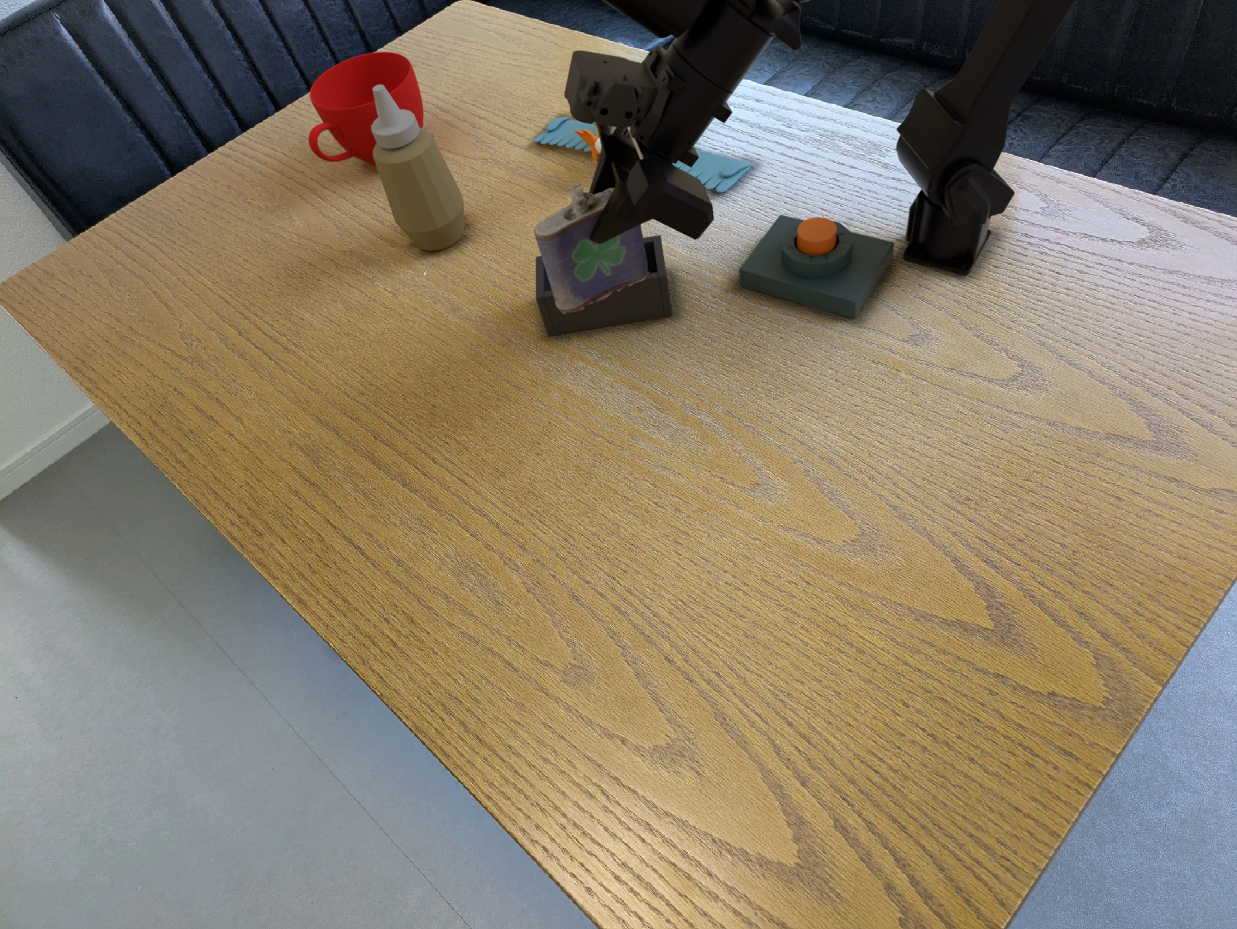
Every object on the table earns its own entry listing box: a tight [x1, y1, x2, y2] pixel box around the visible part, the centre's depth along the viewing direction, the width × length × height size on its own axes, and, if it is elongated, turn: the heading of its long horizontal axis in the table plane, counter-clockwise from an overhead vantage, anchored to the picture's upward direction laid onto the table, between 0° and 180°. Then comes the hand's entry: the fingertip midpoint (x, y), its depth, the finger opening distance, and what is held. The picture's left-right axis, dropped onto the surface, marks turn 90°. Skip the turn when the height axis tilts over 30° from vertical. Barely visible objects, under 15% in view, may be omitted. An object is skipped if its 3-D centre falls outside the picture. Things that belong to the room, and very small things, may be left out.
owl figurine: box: [532, 116, 754, 193], centre depth 94 cm, size 28×9×15 cm
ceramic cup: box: [307, 51, 424, 168], centre depth 102 cm, size 13×17×10 cm
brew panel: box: [738, 214, 895, 320], centre depth 79 cm, size 12×9×4 cm
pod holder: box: [535, 234, 674, 337], centre depth 81 cm, size 13×6×5 cm, turn 94°
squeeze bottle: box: [371, 85, 465, 252], centre depth 87 cm, size 8×8×18 cm
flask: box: [533, 182, 649, 314], centre depth 70 cm, size 9×3×11 cm, turn 116°
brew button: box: [797, 216, 837, 256], centre depth 77 cm, size 4×4×2 cm
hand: (590, 229), depth 69 cm, fingers closed on flask, 3 cm apart
